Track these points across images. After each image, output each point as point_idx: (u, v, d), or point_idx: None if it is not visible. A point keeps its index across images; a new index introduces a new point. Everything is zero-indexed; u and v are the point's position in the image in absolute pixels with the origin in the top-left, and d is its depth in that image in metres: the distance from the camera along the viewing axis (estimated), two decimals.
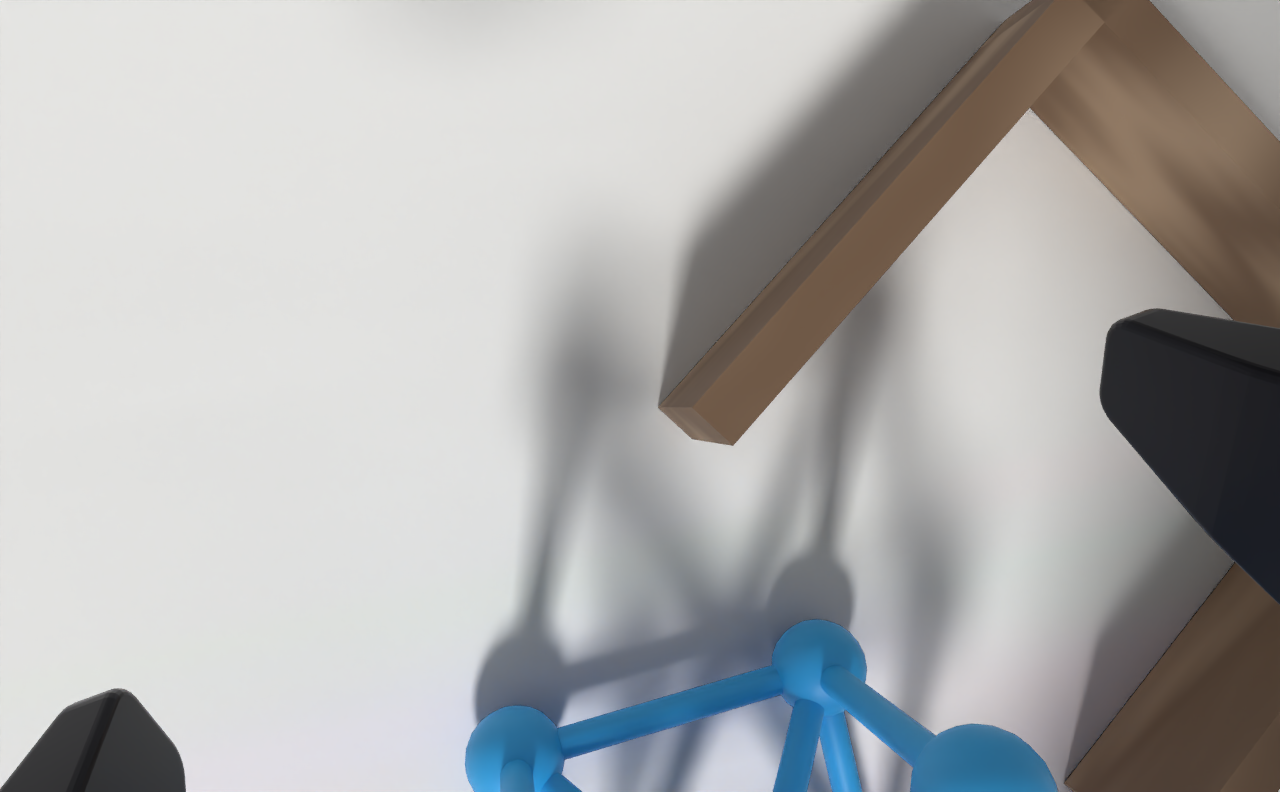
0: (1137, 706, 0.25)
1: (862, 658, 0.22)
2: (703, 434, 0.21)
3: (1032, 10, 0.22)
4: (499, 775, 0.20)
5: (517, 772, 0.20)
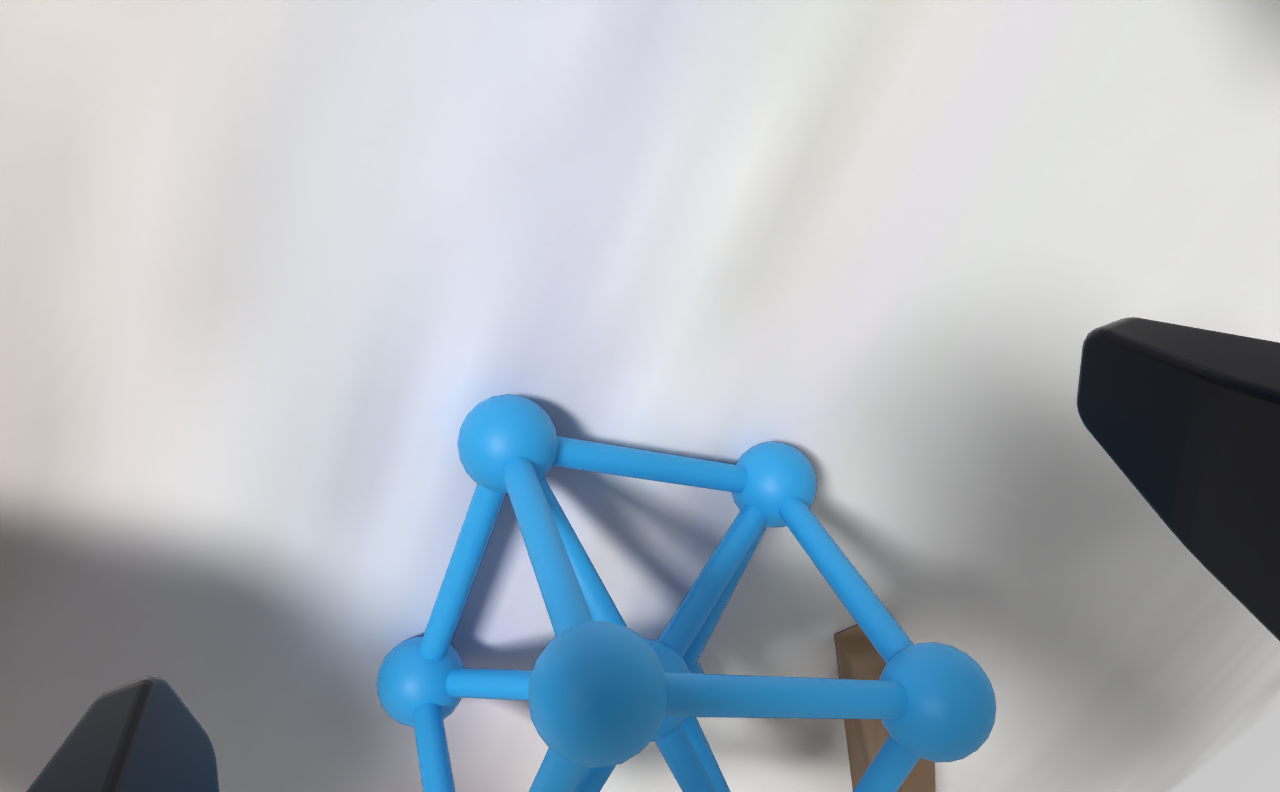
0: None
1: None
2: (873, 678, 0.29)
3: None
4: (801, 499, 0.24)
5: None
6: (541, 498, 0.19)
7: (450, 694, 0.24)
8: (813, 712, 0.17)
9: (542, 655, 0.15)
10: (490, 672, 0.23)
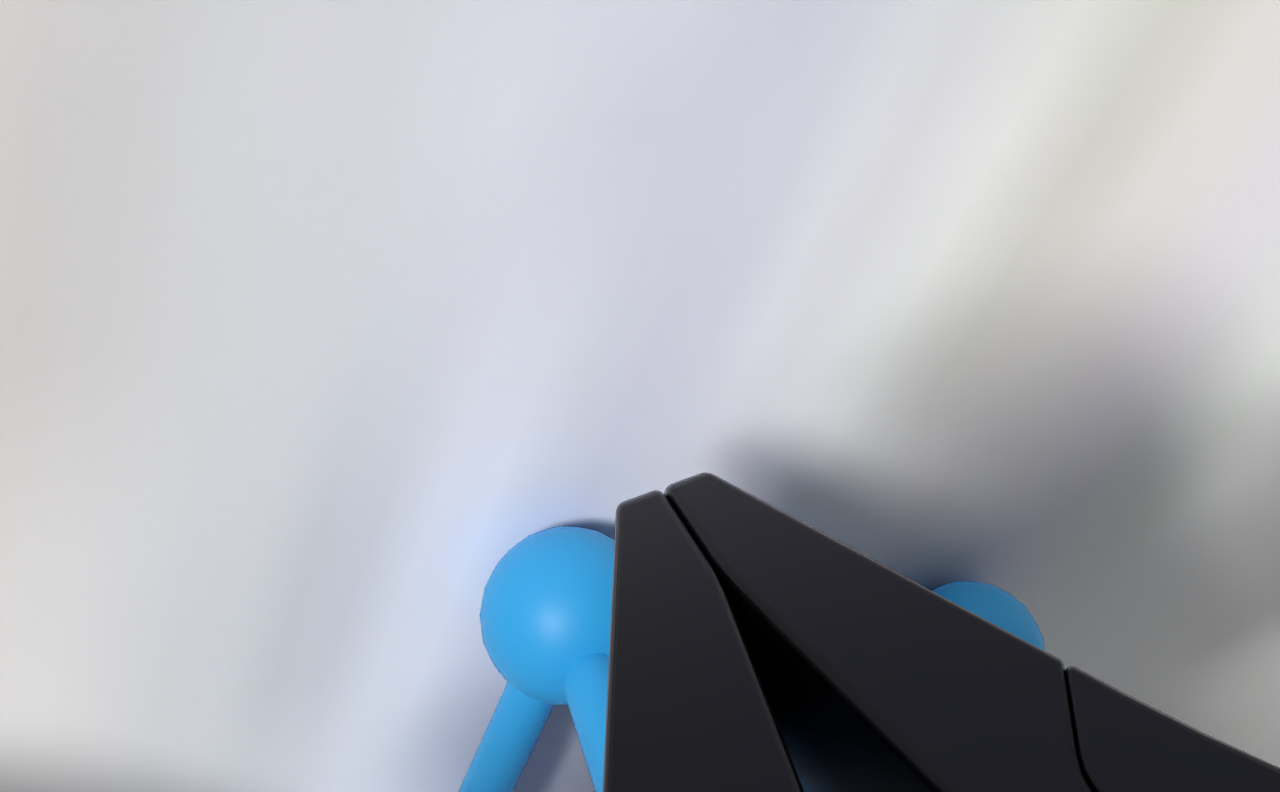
0: None
1: None
2: None
3: None
4: None
5: None
6: None
7: None
8: None
9: None
10: None
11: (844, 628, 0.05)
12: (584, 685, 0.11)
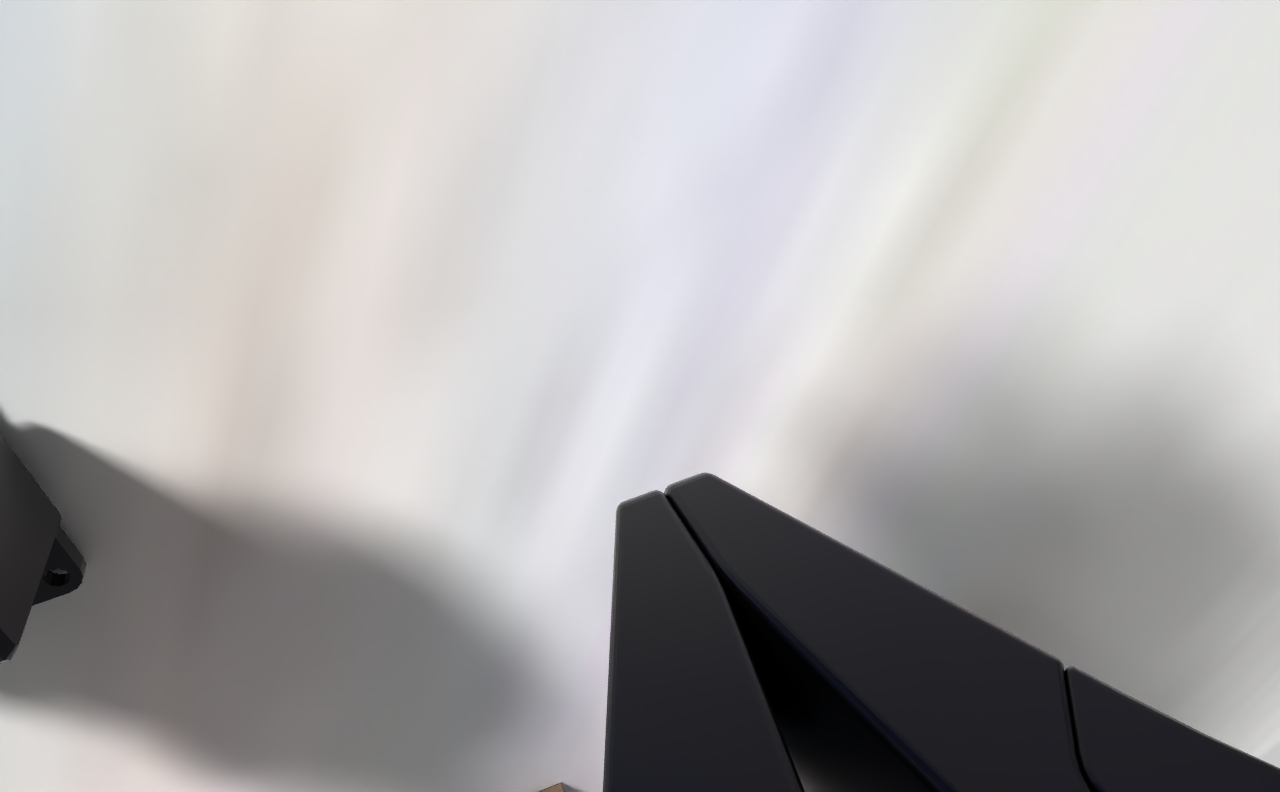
0: None
1: None
2: None
3: None
4: None
5: None
6: None
7: None
8: None
9: None
10: None
11: (843, 628, 0.05)
12: None
